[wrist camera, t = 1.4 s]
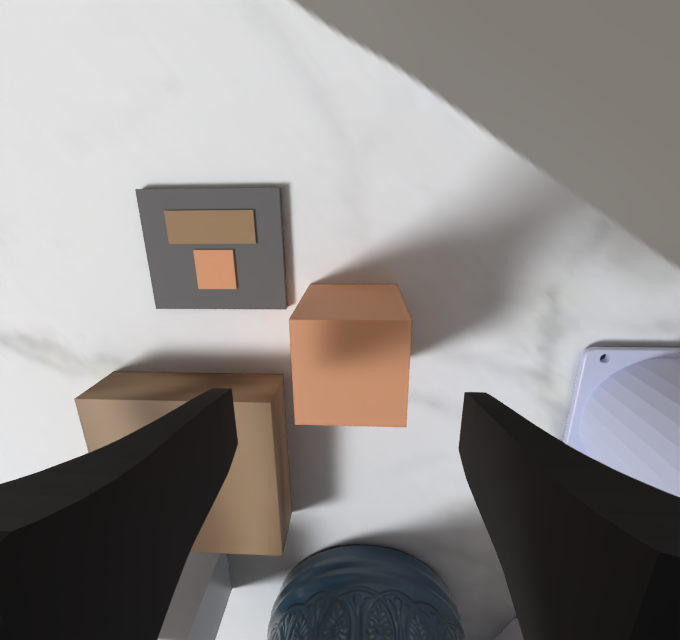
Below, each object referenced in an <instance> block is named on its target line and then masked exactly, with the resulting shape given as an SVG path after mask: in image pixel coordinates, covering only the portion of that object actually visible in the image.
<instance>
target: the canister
mask: <svg viewBox="0 0 680 640" xmlns="http://www.w3.org/2000/svg"><path fill="white" fill-rule="evenodd" d="M267 640H465V636H464V632H463V629H462V625H461V620H460V616H459V613H458V611H457V608H456V606H455V604H454V603H453V601H452V598H451V595H450V593H449V591H448V589H447V587H446V585H445V584H444V582H443V581H442V579H441V578H440V577H439V576H438V575H437V574H436V573H435V572H434V571H433V570H432V569H431V568H430V567H428V566H427V565H426V564H424V563H423V562H421V561H419V560H417V559H416V558H414V557H412V556H410V555H407V554H405V553H402V552H399V551H396V550H392V549H389V548H384V547H378V546H367V545H353V546H344V547H338V548H333V549H329V550H326V551H323V552H320V553H318V554H316V555H313V556H311V557H310V558H308V559H306V560H304V561H303V562H301V563H300V564H299V565H298V566H296V567H295V568H294V569H293V570H292V571H291V572H290V574H289V575H288V576H287V578H286V579H285V581H284V583H283V585H282V587H281V590H280V593H279V595H278V597H277V599H276V601H275V603H274V606H273V609H272V613H271V619H270V622H269V626H268V634H267Z"/></svg>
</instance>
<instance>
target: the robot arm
mask: <svg viewBox="0 0 680 640" xmlns="http://www.w3.org/2000/svg"><path fill="white" fill-rule="evenodd" d="M603 354H606V356H605V358H604V359H602V360H600V357H601V356H602V355H603ZM237 446H238V438H237V429H236V421H235V412H234V403H233V395H232V388H212V389H210V390H208V391H206V392H204V393H202V394H200V395H198V396H197V397H195V398H193V399H191V400H190V401H188V402H186V403H184V404H183V405H181V406H179V407H178V408H176V409H174V410H172V411H171V412H169V413H167V414H166V415H164V416H162V417H160V418H159V419H157V420H155V421H153V422H151V423H149V424H147V425H146V426H144V427H142V428H140V429H138V430H136V431H134V432H133V433H131V434H129V435H127V436H125V437H123V438H121V439H119V440H117V441H114V442H112V443H110V444H108V445H106V446H103V447H101V448H99V449H97V450H94V451H92V452H90V453H87V454H85V455H83V456H80V457H77V458H75V459H72V460H69V461H67V462H64V463H61V464H59V465H56V466H53V467H51V468H48V469H45V470H43V471H40V472H37V473H34V474H31V475H28V476H25V477H22V478H19V479H16V480H13V481H9V482H6V483H3V484H0V640H157V639H158V636H159V634H160V631H161V628H162V625H163V622H164V620H165V617H166V614H167V611H168V608H169V606H170V603H171V600H172V597H173V594H174V592H175V589H176V586H177V584H178V581H179V579H180V576H181V573H182V571H183V568H184V565H185V563H186V560H187V558H188V555H189V553H190V551H191V549H192V546H193V544H194V542H195V540H196V538H197V536H198V534H199V532H200V530H201V528H202V526H203V524H204V522H205V520H206V518H207V516H208V514H209V512H210V510H211V508H212V506H213V504H214V502H215V500H216V498H217V496H218V494H219V491H220V489H221V487H222V485H223V483H224V481H225V479H226V477H227V475H228V473H229V470H230V467H231V464H232V461H233V458H234V455H235V452H236V449H237ZM459 453H460V457H461V461H462V465H463V468H464V472H465V476H466V479H467V482H468V484H469V487H470V489H471V492H472V494H473V497H474V499H475V502H476V504H477V506H478V509H479V511H480V514H481V516H482V519H483V521H484V523H485V526H486V528H487V531H488V533H489V535H490V538H491V540H492V543H493V545H494V547H495V550H496V552H497V555H498V558H499V560H500V563H501V566H502V569H503V572H504V575H505V578H506V581H507V585H508V588H509V591H510V595H511V598H512V601H513V604H514V608H515V611H516V614H517V618H518V621H519V625H520V628H521V632H522V635H523V639H524V640H680V348H652V347H589V348H587V349H585V350H584V351H583V353H582V355H581V359H580V364H579V369H578V373H577V378H576V383H575V387H574V392H573V397H572V402H571V406H570V411H569V416H568V420H567V425H566V430H565V435H564V439H563V442H562V441H560V440H558V439H557V438H555V437H553V436H552V435H550V434H549V433H547V432H545V431H544V430H542V429H541V428H539V427H537V426H536V425H534V424H533V423H531V422H530V421H528V420H527V419H525V418H524V417H522V416H521V415H519V414H518V413H516V412H515V411H513V410H512V409H510V408H509V407H507V406H506V405H504V404H503V403H501V402H500V401H498V400H497V399H495V398H494V397H492V396H491V395H489V394H487V393H481V392H465V395H464V404H463V413H462V422H461V431H460V441H459Z"/></svg>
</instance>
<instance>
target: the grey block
mask: <svg viewBox="0 0 680 640" xmlns="http://www.w3.org/2000/svg"><path fill="white" fill-rule="evenodd" d="M231 590H232V585H231V578H230V571H229V564H228V557H227V554H226V553H202V552H190V553H189V555H188V558H187V560H186V563H185V565H184V568H183V571H182V573H181V576H180V579H179V581H178V584H177V586H176V589H175V592H174V594H173V597H172V600H171V603H170V606H169V608H168V611H167V614H166V617H165V620H164V622H163V625H162V628H161V631H160V634H159V636H158V639H157V640H215V638H216V635H217V632H218V629H219V626H220V623H221V620H222V617H223V614H224V611H225V608H226V605H227V602H228V599H229V596H230V593H231Z"/></svg>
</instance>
